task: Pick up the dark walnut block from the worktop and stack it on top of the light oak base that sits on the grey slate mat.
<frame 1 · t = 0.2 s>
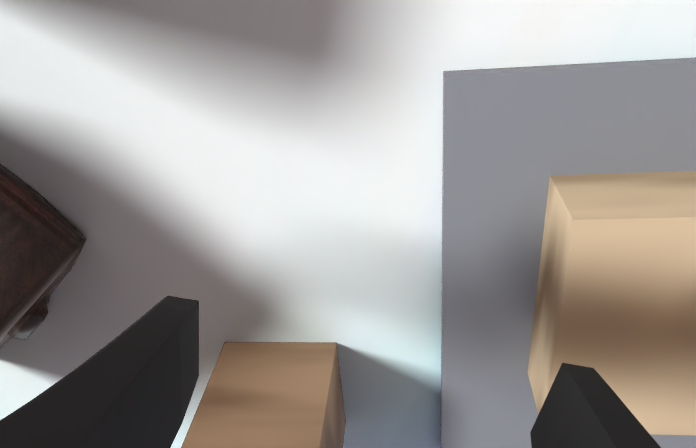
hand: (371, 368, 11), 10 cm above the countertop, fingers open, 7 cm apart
slate mat: (625, 295, 21), on the countertop
walnut block: (287, 382, 25), on the countertop
oak base: (664, 283, 20), point 1 cm above the countertop, touching slate mat
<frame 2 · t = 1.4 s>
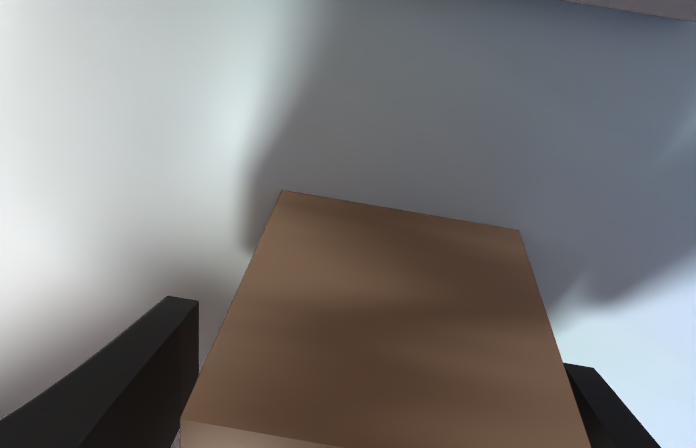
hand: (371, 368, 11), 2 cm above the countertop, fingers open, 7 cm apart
walnut block: (380, 302, 13), on the countertop
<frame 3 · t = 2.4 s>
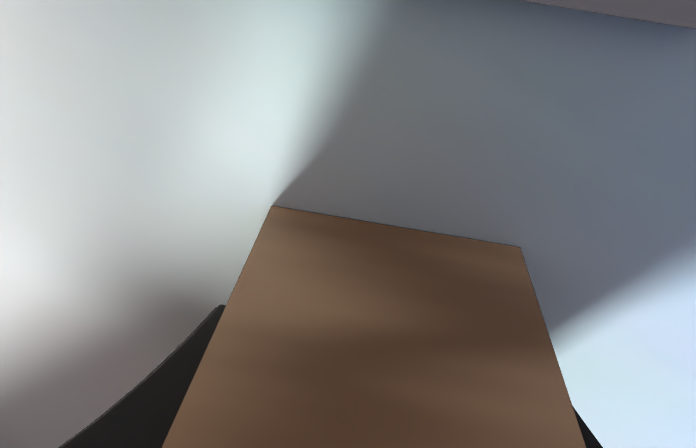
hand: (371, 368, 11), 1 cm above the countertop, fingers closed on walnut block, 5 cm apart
walnut block: (374, 322, 12), on the countertop, touching gripper
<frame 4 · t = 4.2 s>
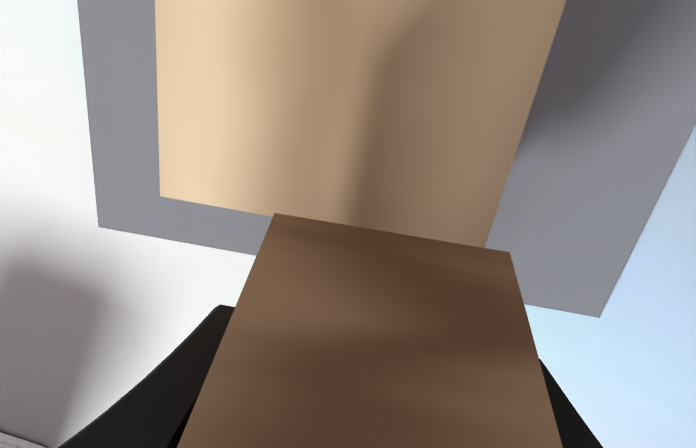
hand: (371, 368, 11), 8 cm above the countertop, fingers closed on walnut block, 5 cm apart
slate mat: (385, 71, 16), on the countertop
walnut block: (373, 321, 13), point 7 cm above the countertop, touching gripper
oak base: (355, 35, 15), point 1 cm above the countertop, touching slate mat
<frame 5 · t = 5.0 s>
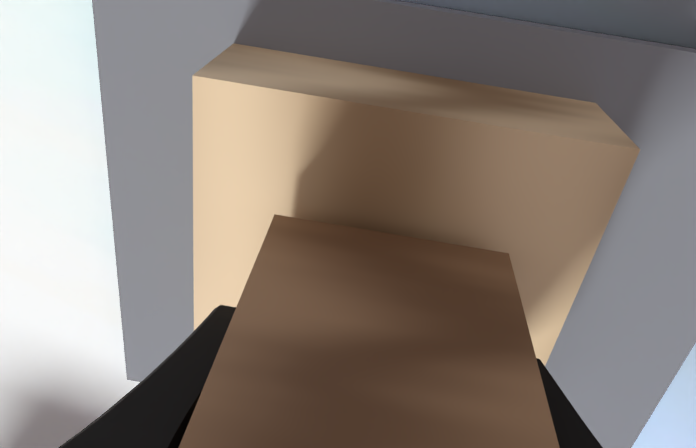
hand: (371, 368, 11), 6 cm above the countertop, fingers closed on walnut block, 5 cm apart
slate mat: (410, 251, 17), on the countertop
walnut block: (372, 321, 13), point 4 cm above the countertop, touching gripper
oak base: (382, 228, 16), point 1 cm above the countertop, touching slate mat
when the fingers open (6 cm above the countertop, at t = 5.9 s): walnut block stays where it is, resting on oak base.
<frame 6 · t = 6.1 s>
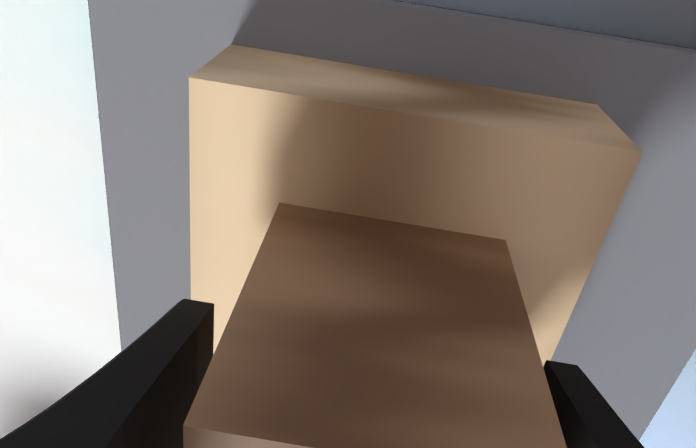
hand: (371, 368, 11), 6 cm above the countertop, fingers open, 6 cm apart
slate mat: (409, 254, 17), on the countertop
walnut block: (373, 309, 13), point 4 cm above the countertop, touching oak base
oak base: (382, 231, 16), point 1 cm above the countertop, touching slate mat, walnut block
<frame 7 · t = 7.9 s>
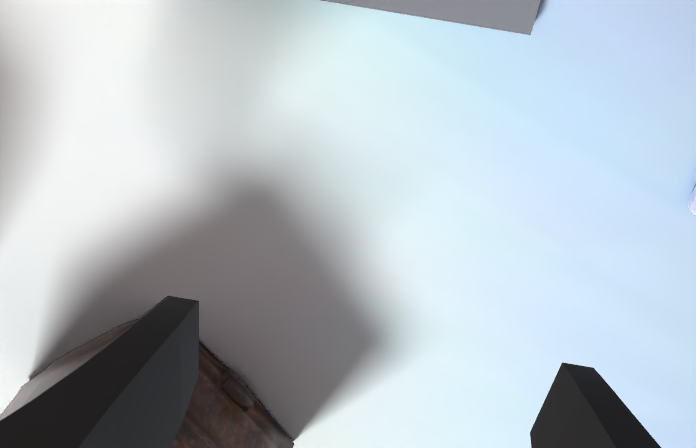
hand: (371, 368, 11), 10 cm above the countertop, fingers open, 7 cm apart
coffee grinder: (132, 375, 28), on the countertop
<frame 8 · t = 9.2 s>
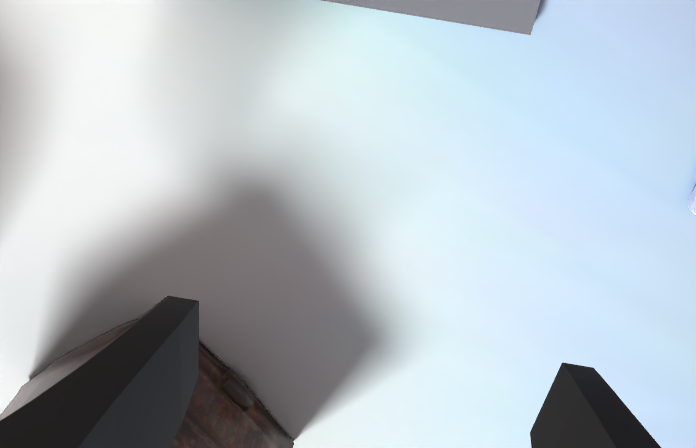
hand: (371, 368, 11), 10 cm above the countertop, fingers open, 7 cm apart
coffee grinder: (132, 375, 28), on the countertop
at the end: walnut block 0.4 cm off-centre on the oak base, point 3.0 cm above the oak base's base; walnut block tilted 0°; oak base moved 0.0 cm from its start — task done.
